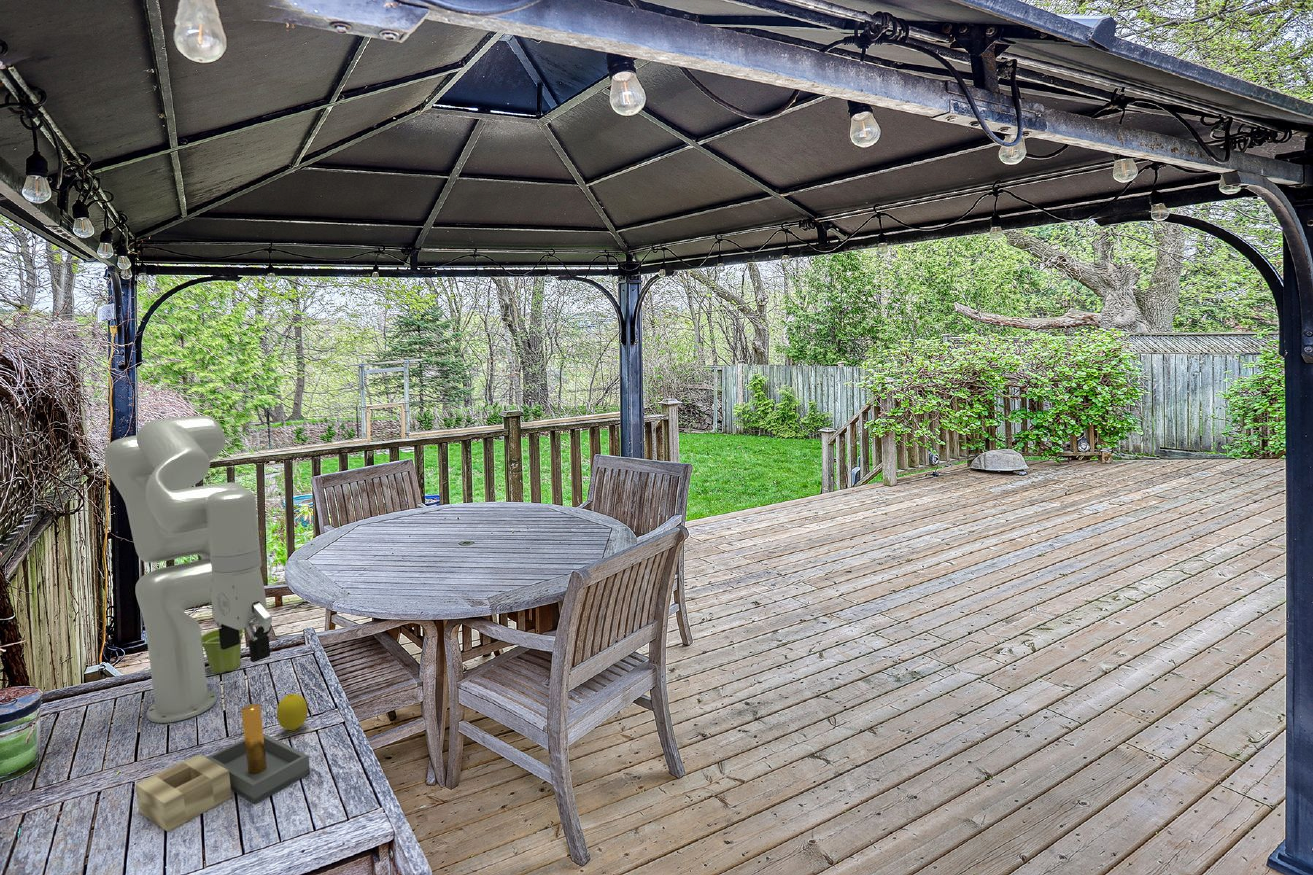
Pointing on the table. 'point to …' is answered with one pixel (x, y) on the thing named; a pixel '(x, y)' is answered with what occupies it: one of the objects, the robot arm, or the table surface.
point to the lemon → (292, 711)
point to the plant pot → (221, 653)
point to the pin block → (183, 791)
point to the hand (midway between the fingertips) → (245, 652)
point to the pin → (254, 738)
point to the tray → (279, 773)
